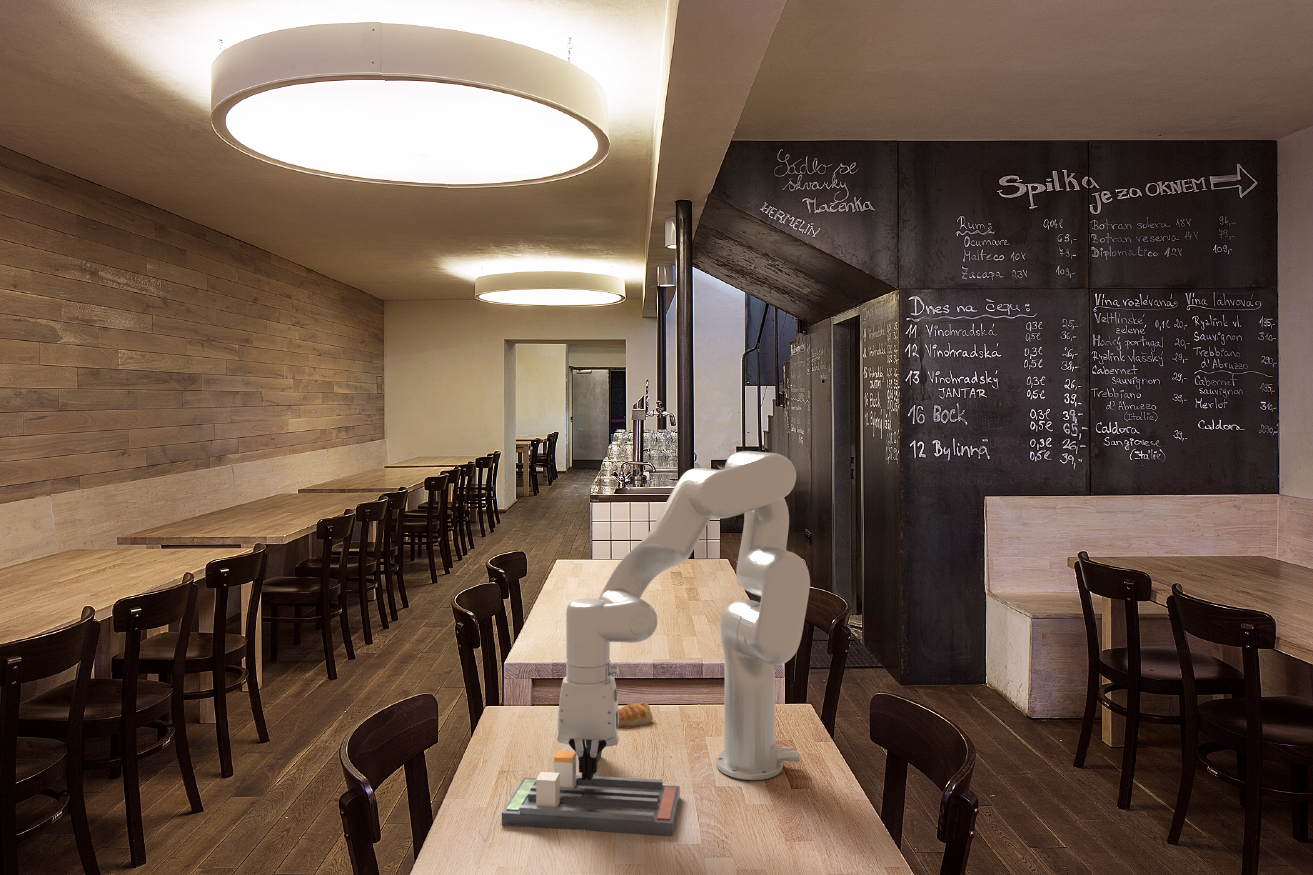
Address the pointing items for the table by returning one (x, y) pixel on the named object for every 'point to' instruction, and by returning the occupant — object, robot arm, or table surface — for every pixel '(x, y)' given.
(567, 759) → the block
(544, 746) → the table surface
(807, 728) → the table surface
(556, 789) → the block
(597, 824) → the gray rail tray
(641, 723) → the pastry
